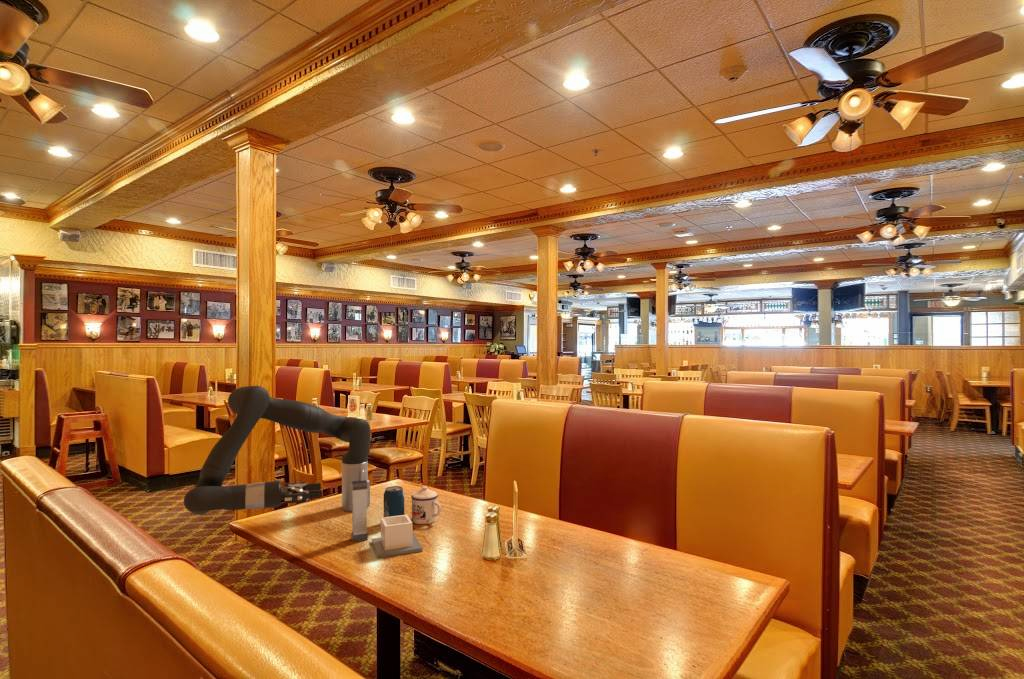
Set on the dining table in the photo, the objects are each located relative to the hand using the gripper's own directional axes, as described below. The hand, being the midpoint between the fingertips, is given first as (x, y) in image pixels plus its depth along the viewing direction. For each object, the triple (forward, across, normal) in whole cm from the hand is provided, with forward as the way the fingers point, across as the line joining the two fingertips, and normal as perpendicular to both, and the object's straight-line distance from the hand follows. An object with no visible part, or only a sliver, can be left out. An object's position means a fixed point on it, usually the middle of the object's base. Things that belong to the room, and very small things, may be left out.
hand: (321, 490), depth 166 cm
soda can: (+24, +10, +16) cm, 31 cm away
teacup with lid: (+35, +8, +16) cm, 40 cm away
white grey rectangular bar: (+12, 0, +17) cm, 20 cm away
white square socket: (+21, -10, +16) cm, 29 cm away
